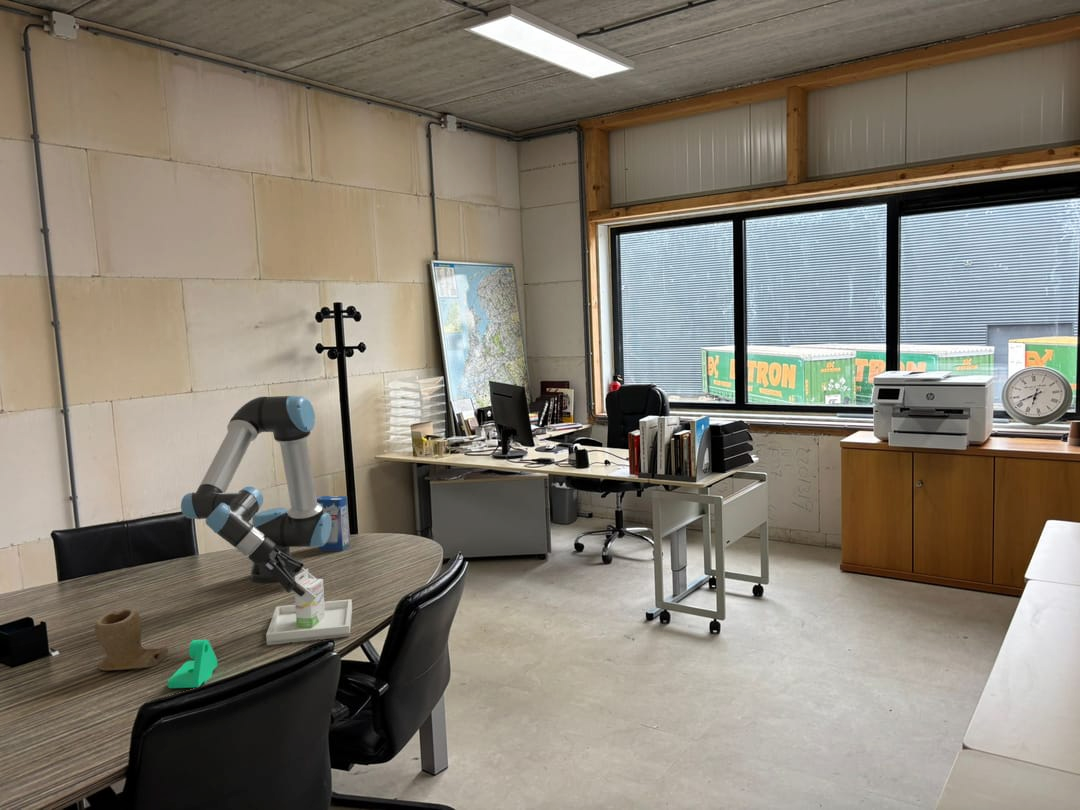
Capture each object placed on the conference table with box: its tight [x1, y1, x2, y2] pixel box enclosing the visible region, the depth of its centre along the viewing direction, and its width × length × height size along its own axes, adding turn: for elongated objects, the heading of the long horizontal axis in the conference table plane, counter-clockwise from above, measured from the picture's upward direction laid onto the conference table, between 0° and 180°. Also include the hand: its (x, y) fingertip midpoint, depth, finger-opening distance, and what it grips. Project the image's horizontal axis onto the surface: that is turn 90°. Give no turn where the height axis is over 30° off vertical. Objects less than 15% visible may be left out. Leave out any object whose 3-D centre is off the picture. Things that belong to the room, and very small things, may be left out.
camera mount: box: [167, 639, 219, 689], centre depth 195 cm, size 12×8×10 cm, turn 1°
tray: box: [265, 598, 353, 646], centre depth 228 cm, size 22×22×3 cm
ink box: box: [294, 568, 325, 628], centre depth 228 cm, size 9×5×15 cm, turn 169°
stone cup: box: [94, 608, 170, 671], centre depth 203 cm, size 15×12×15 cm
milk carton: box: [316, 495, 350, 552], centre depth 307 cm, size 10×6×20 cm, turn 79°
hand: (314, 592), depth 228 cm, fingers open, 13 cm apart
